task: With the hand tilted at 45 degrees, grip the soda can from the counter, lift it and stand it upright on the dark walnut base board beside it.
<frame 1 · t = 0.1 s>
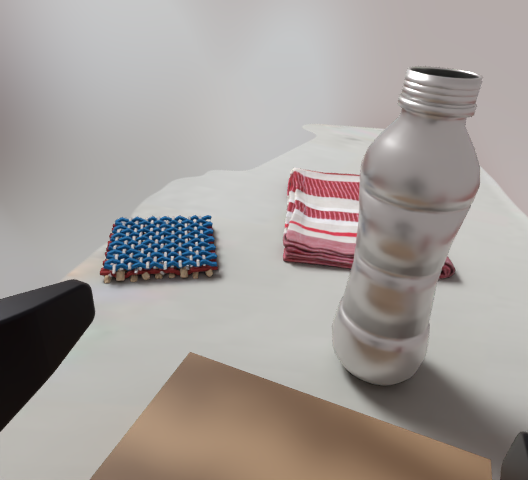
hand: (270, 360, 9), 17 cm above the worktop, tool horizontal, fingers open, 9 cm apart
woven mat: (162, 256, 43), on the worktop
dish towel: (353, 222, 52), on the worktop
plastic bottle: (370, 363, 32), on the worktop
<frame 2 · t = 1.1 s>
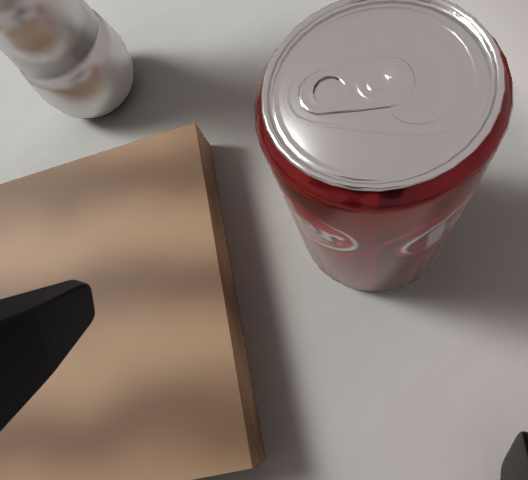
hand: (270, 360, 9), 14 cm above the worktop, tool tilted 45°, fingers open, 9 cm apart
walnut base board: (88, 318, 25), on the worktop
soda can: (372, 228, 23), on the worktop
plastic bottle: (104, 92, 31), on the worktop
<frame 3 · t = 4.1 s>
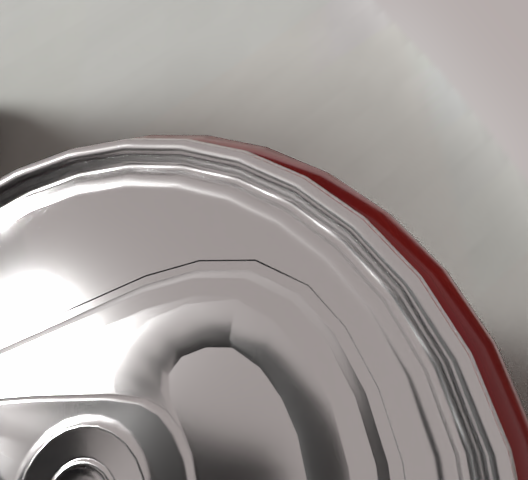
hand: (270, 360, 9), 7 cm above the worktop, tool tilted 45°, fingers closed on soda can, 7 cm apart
soda can: (299, 410, 15), on the worktop, touching gripper
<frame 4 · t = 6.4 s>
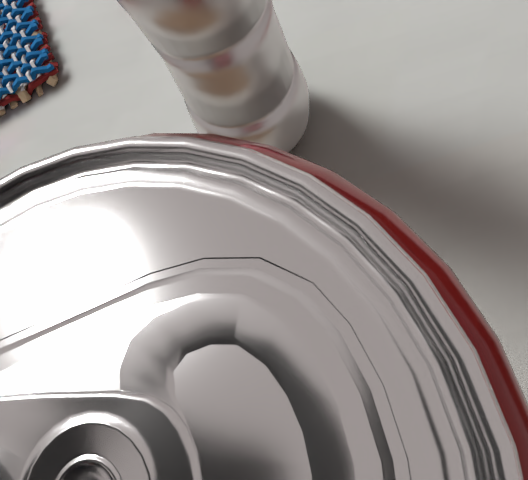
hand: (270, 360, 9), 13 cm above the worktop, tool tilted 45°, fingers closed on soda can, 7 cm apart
soda can: (301, 408, 15), point 6 cm above the worktop, touching gripper
plastic bottle: (261, 129, 26), on the worktop
when the fingers open (10 cm above the worktop, at t = 8.6 s): soda can drops 1 cm, resting on walnut base board.
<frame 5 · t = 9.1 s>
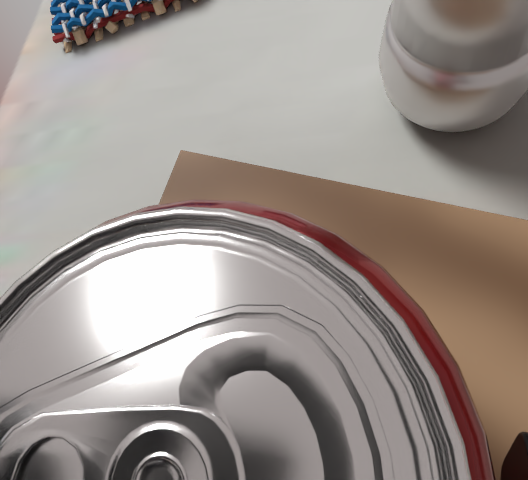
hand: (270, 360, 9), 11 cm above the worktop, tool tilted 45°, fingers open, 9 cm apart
walnut base board: (313, 404, 18), on the worktop
soda can: (304, 411, 16), point 2 cm above the worktop, touching walnut base board
plastic bottle: (445, 92, 21), on the worktop
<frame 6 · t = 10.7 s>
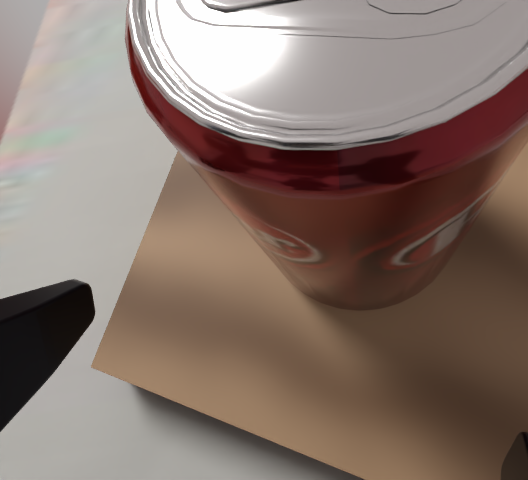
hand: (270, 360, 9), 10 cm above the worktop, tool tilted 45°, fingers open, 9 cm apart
walnut base board: (360, 237, 20), on the worktop
soda can: (357, 224, 17), point 2 cm above the worktop, touching walnut base board
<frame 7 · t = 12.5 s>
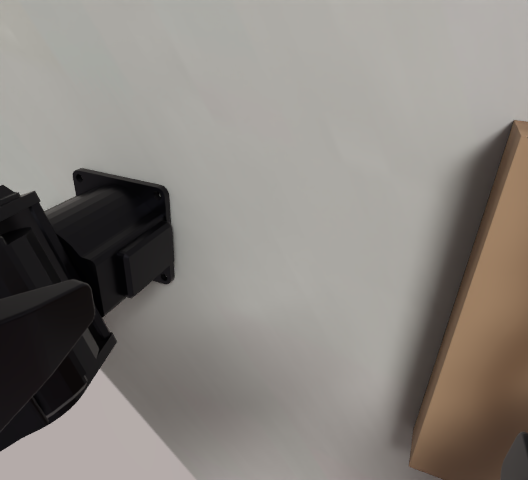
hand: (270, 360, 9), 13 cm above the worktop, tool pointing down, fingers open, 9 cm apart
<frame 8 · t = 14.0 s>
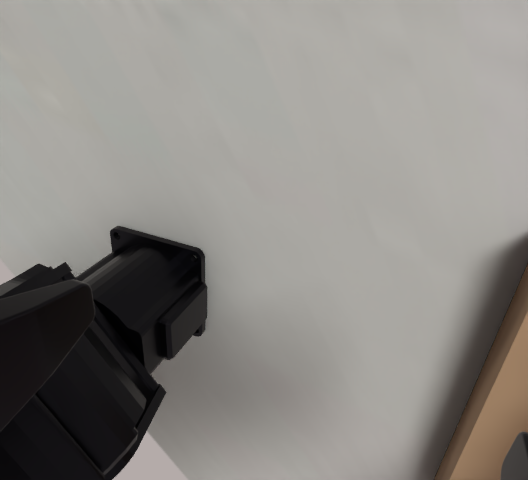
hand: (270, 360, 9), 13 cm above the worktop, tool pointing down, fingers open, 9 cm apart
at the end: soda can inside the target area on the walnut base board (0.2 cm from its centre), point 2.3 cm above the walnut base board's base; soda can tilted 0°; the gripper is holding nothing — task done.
